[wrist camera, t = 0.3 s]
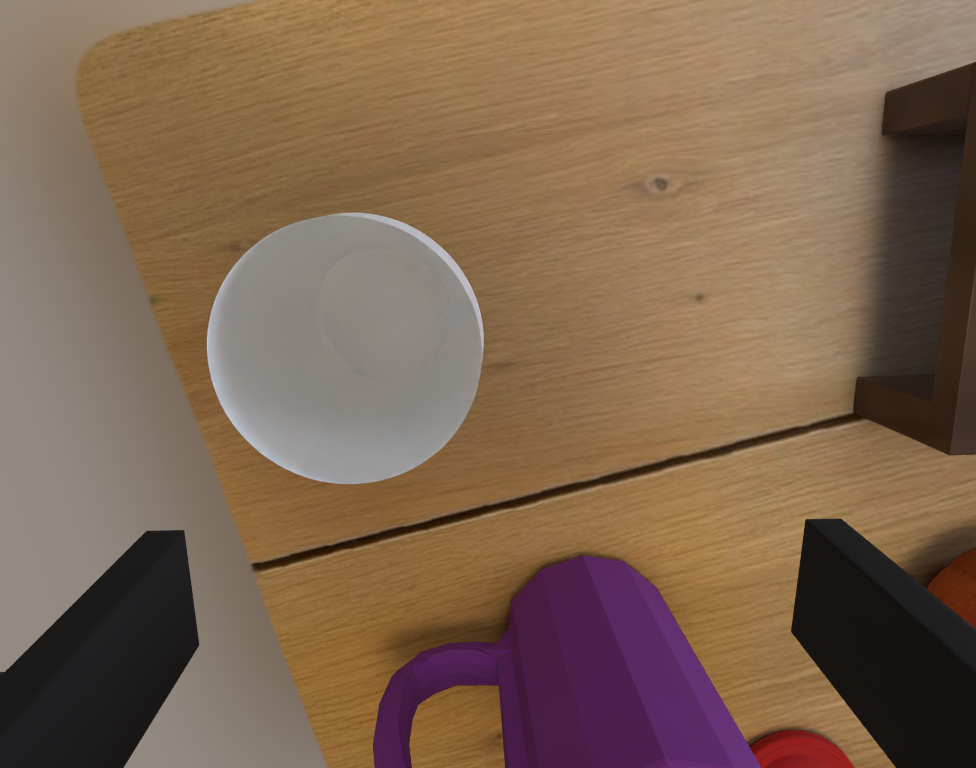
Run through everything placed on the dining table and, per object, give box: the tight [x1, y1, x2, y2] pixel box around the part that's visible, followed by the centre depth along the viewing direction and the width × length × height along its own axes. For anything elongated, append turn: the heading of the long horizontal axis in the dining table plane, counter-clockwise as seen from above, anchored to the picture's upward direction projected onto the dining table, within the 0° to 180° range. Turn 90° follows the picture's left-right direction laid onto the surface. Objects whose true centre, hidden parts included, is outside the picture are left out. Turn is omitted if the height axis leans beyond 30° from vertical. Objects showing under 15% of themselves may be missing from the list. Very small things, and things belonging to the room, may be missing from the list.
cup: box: [207, 213, 484, 484], centre depth 27 cm, size 9×9×12 cm
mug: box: [373, 555, 761, 768], centre depth 30 cm, size 9×16×15 cm, turn 95°
